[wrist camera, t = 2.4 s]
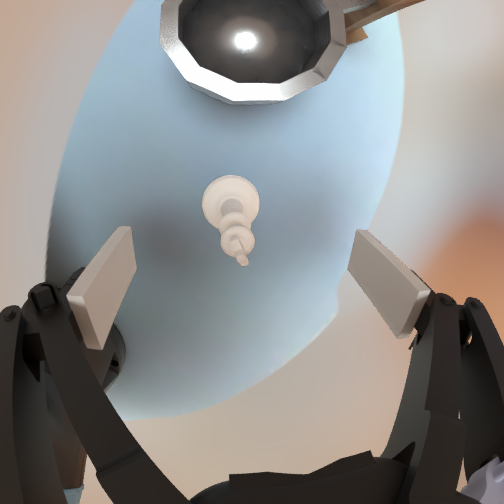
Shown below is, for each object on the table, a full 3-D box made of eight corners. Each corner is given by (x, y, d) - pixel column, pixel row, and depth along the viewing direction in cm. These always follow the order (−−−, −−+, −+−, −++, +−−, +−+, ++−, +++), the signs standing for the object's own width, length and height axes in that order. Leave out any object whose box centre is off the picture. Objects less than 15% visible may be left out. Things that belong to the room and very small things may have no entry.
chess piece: (215, 237, 24) (217, 308, 16) (192, 188, 22) (177, 237, 13) (267, 217, 24) (298, 277, 15) (247, 165, 22) (269, 198, 13)
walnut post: (320, 55, 18) (399, 18, 8) (289, 10, 16) (345, -54, 5) (362, 39, 17) (449, 11, 7) (334, -3, 15) (405, -53, 5)
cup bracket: (222, 132, 14) (224, 135, 11) (145, 25, 10) (129, 5, 7) (398, 50, 12) (429, 43, 9) (332, -45, 8) (352, -65, 5)
